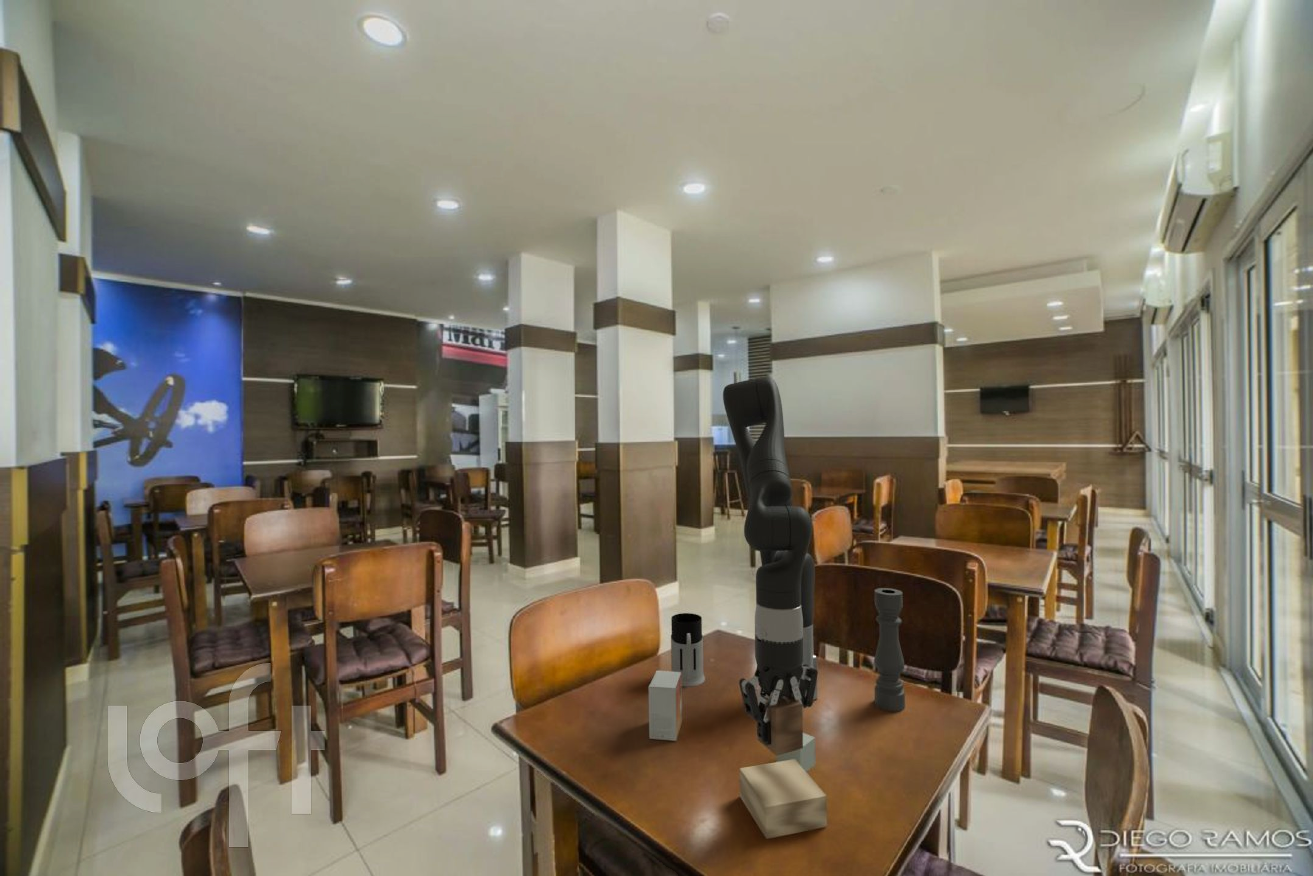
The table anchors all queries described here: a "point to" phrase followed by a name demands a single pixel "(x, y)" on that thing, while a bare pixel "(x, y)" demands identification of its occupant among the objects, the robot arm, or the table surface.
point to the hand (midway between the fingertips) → (779, 737)
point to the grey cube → (802, 753)
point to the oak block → (782, 798)
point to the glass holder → (687, 648)
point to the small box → (665, 705)
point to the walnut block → (786, 726)
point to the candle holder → (889, 651)
